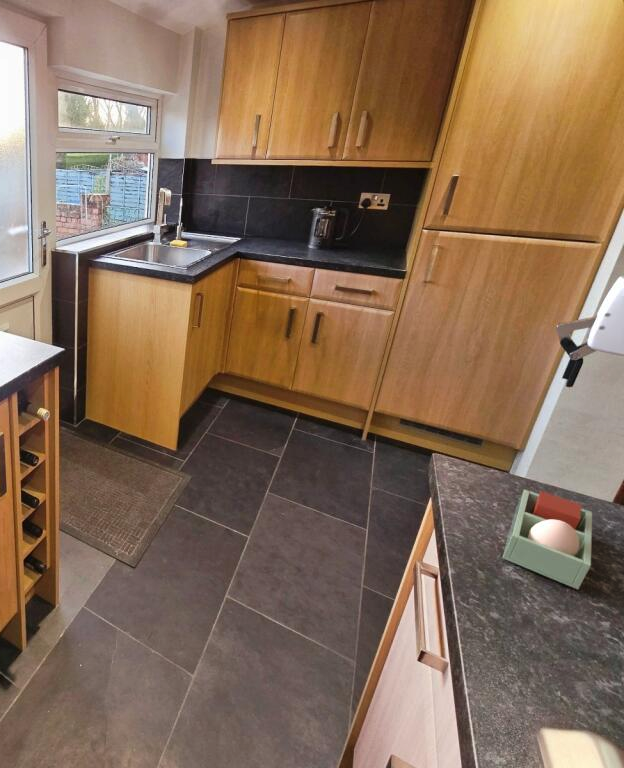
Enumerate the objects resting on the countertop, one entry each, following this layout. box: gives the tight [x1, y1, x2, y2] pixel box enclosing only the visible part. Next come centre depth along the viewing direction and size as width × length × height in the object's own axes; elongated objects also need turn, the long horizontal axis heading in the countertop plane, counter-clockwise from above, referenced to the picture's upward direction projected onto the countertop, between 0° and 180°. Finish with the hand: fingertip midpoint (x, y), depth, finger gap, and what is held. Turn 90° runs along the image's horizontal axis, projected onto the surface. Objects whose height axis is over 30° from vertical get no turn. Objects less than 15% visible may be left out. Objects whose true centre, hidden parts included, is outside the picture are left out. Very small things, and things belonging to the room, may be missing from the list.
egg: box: [528, 519, 580, 556], centre depth 66 cm, size 5×5×6 cm
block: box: [531, 491, 582, 530], centre depth 71 cm, size 5×5×5 cm
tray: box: [502, 489, 593, 590], centre depth 69 cm, size 8×15×4 cm, turn 137°
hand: (613, 394), depth 69 cm, fingers open, 9 cm apart
